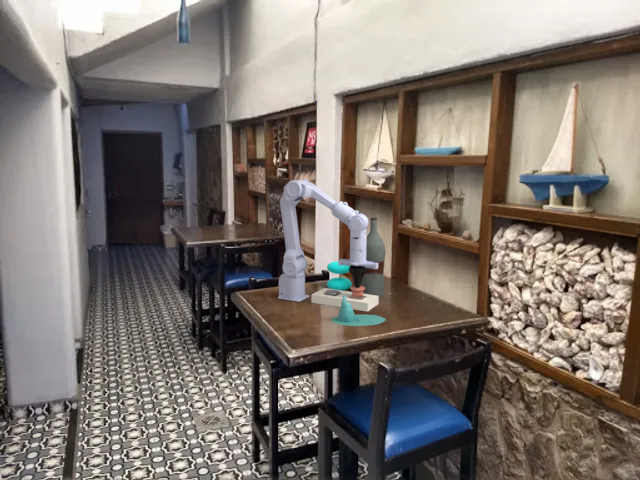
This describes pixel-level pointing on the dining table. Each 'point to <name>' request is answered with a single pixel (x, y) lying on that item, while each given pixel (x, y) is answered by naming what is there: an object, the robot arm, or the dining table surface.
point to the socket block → (357, 303)
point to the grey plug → (332, 292)
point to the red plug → (357, 291)
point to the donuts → (339, 282)
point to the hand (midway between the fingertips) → (357, 286)
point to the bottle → (375, 253)
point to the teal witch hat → (354, 316)
